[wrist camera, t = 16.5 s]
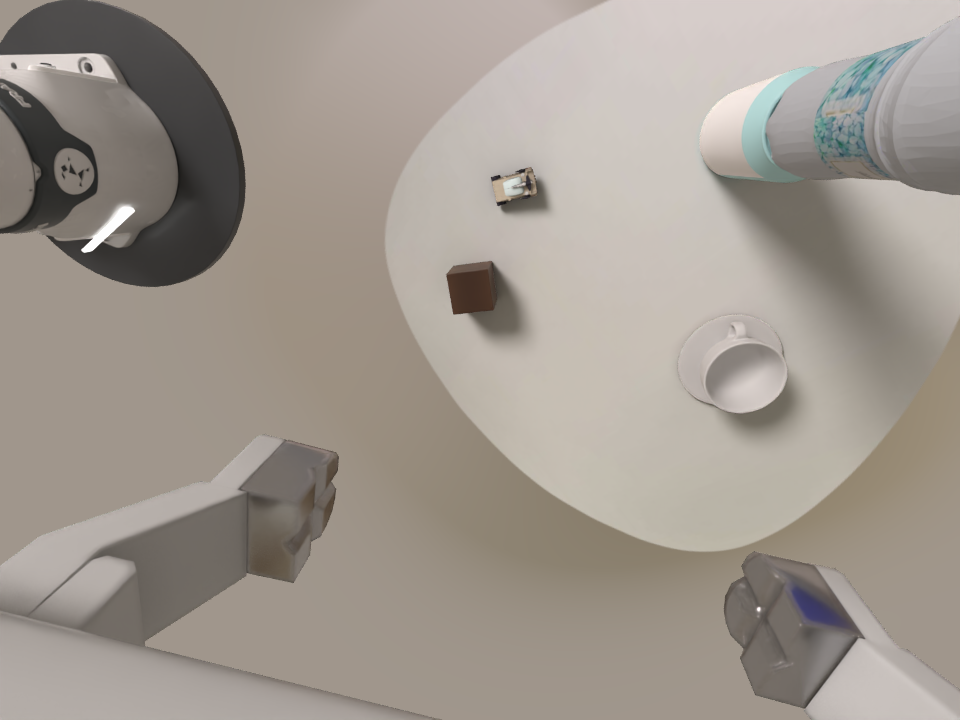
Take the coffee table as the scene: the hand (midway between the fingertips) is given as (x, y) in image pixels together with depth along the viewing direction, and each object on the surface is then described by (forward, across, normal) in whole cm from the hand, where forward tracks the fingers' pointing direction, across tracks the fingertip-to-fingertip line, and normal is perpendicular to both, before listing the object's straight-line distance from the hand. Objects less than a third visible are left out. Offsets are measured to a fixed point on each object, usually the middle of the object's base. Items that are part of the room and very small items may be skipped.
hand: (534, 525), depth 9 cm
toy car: (+41, +3, -4) cm, 41 cm away
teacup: (+41, -22, +8) cm, 47 cm away
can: (+41, -15, -12) cm, 45 cm away
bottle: (+29, -15, -12) cm, 35 cm away
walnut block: (+41, +5, +6) cm, 42 cm away
